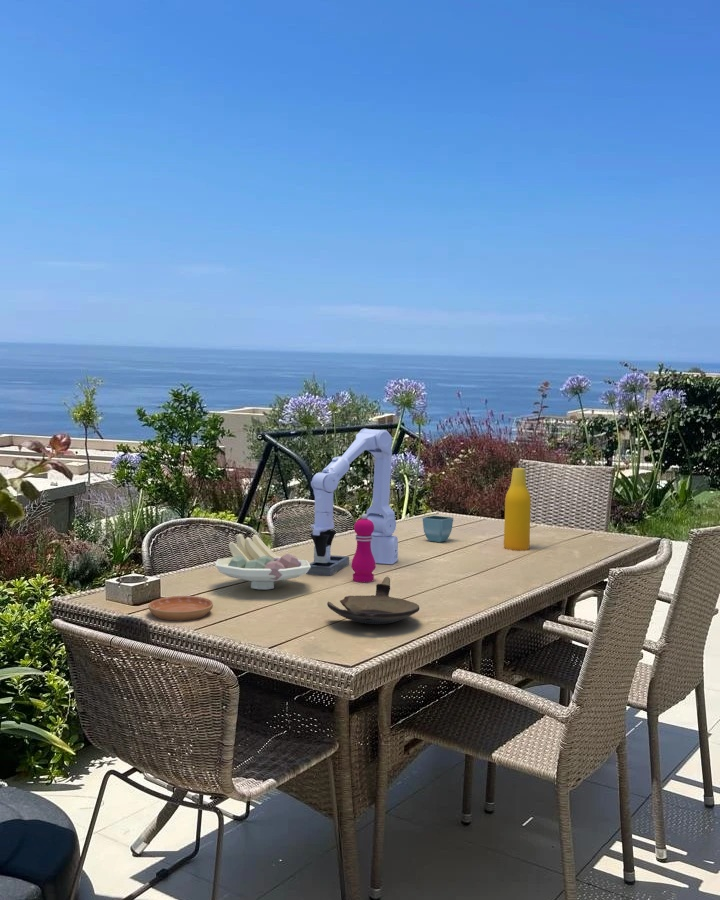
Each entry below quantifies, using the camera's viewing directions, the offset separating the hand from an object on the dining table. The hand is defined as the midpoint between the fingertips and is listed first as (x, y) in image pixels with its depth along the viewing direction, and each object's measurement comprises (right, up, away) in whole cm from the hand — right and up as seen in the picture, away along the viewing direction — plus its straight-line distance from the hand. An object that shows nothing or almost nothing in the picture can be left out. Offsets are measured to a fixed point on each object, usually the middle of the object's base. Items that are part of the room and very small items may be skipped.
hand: (323, 555), depth 281 cm
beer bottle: (+68, -3, +47) cm, 83 cm away
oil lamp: (+16, -10, -55) cm, 59 cm away
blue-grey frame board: (+1, -5, +5) cm, 7 cm away
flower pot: (+41, -2, +59) cm, 72 cm away
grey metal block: (0, -2, 0) cm, 2 cm away
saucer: (-34, -9, -53) cm, 63 cm away
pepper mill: (+12, -7, -10) cm, 17 cm away
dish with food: (-16, -7, -23) cm, 29 cm away
